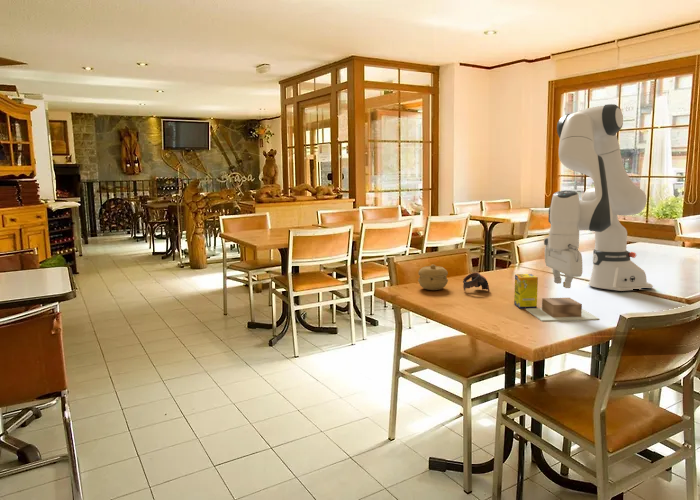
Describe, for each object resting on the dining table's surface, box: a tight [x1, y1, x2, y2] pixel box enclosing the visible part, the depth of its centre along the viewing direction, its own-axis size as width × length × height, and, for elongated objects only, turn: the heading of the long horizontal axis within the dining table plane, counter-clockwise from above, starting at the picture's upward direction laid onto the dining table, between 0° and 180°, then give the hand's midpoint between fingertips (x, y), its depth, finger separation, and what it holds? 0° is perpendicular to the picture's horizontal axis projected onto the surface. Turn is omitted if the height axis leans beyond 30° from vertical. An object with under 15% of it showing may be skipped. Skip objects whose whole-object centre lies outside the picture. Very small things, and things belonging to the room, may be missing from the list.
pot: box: [417, 264, 449, 291], centre depth 210 cm, size 12×12×10 cm
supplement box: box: [513, 273, 539, 310], centre depth 179 cm, size 6×6×11 cm
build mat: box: [525, 307, 600, 322], centre depth 169 cm, size 18×14×1 cm
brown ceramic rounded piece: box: [462, 271, 491, 293], centre depth 205 cm, size 12×9×8 cm
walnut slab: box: [541, 297, 583, 317], centre depth 169 cm, size 9×9×4 cm
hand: (562, 285), depth 168 cm, fingers open, 6 cm apart
